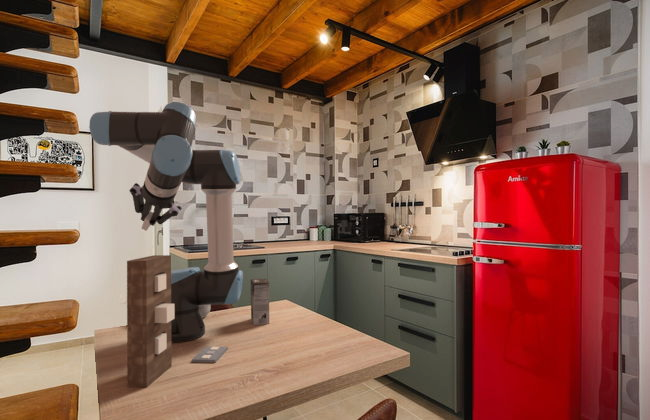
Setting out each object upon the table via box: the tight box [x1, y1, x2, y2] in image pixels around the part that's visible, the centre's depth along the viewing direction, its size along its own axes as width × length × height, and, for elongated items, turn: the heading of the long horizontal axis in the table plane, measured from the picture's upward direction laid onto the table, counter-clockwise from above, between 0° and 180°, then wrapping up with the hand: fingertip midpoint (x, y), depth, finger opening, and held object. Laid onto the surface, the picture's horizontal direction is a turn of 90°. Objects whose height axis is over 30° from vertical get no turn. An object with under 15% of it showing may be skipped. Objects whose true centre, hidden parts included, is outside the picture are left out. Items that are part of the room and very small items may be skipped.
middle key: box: [154, 304, 175, 323], centre depth 93 cm, size 4×4×4 cm
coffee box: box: [250, 278, 270, 326], centre depth 140 cm, size 9×6×16 cm
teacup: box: [200, 305, 212, 319], centre depth 148 cm, size 14×11×8 cm
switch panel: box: [126, 254, 172, 388], centre depth 93 cm, size 5×12×31 cm, turn 176°
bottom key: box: [155, 333, 167, 354], centre depth 93 cm, size 4×4×4 cm
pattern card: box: [191, 345, 228, 363], centre depth 106 cm, size 7×10×1 cm
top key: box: [154, 274, 166, 292], centre depth 93 cm, size 4×4×4 cm
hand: (146, 226), depth 102 cm, fingers closed
